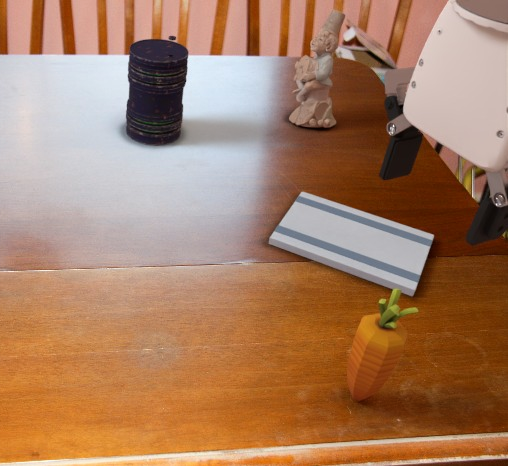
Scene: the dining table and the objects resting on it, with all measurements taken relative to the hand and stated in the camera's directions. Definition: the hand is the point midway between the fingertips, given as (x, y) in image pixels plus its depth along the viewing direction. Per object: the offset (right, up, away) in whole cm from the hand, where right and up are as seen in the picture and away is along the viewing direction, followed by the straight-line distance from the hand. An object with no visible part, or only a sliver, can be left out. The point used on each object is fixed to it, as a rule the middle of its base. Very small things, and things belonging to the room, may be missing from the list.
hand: (434, 206), depth 54 cm
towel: (+5, -4, +39) cm, 39 cm away
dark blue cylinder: (-24, +16, +61) cm, 68 cm away
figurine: (+6, +19, +69) cm, 72 cm away
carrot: (-1, -20, +17) cm, 26 cm away
